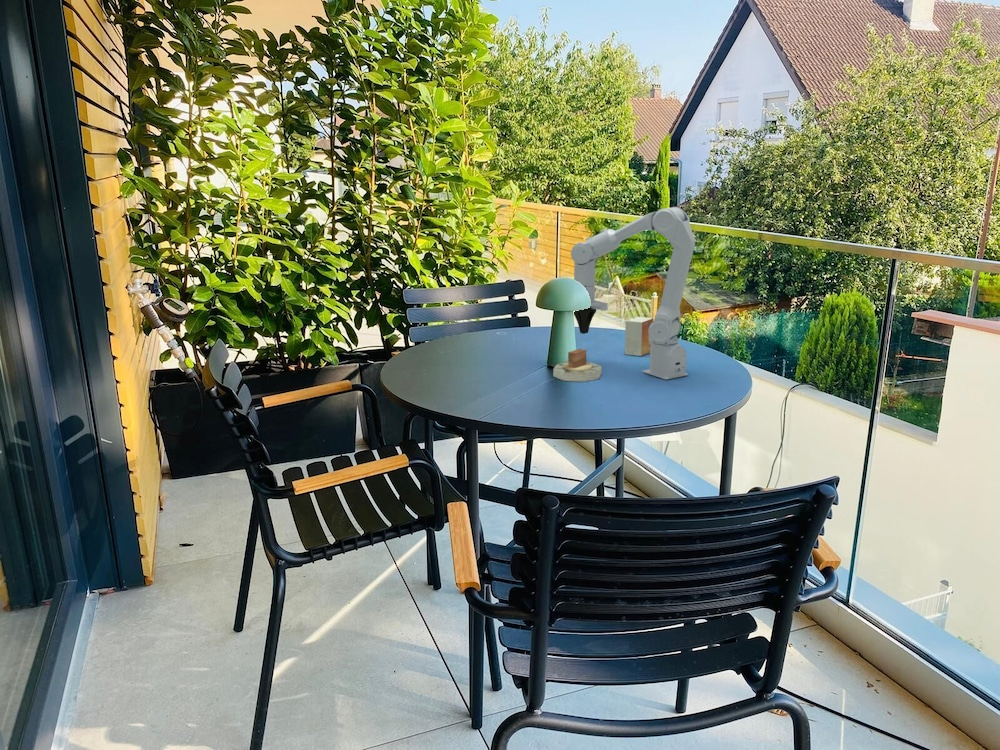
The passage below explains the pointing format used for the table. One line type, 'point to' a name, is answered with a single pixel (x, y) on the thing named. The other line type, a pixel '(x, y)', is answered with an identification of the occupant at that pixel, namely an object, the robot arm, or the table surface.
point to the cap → (577, 361)
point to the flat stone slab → (577, 373)
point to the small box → (637, 336)
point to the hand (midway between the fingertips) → (584, 332)
